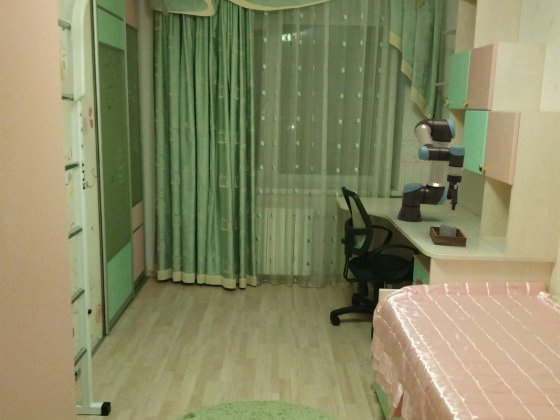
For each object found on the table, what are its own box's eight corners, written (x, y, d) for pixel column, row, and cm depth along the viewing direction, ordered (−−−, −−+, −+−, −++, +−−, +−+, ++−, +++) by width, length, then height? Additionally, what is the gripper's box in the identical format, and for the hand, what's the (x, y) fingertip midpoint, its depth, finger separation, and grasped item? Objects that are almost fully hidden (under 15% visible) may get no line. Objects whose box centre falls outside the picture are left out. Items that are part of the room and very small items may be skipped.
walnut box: (429, 234, 304) (430, 226, 303) (458, 237, 302) (459, 228, 301) (434, 244, 283) (435, 235, 282) (465, 247, 280) (466, 238, 279)
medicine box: (455, 242, 290) (457, 226, 289) (450, 243, 288) (452, 227, 286) (443, 238, 297) (445, 223, 295) (438, 239, 294) (440, 224, 292)
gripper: (466, 178, 272) (461, 218, 276) (457, 172, 296) (453, 210, 300) (451, 176, 273) (446, 217, 277) (444, 171, 298) (439, 208, 302)
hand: (450, 213), depth 289 cm, fingers open, 13 cm apart
